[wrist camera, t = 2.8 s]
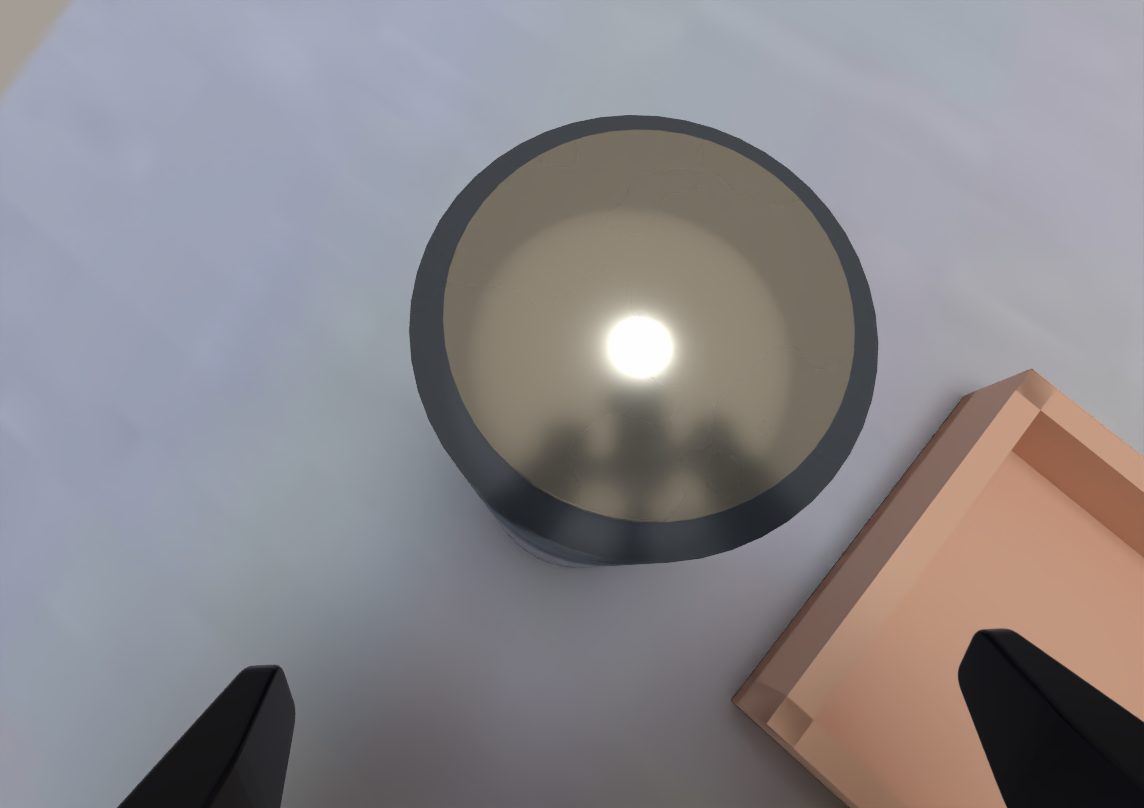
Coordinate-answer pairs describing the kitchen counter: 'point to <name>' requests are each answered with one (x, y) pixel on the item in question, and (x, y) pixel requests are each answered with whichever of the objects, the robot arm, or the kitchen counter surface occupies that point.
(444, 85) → the kitchen counter surface
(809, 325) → the dark grey cylinder
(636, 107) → the kitchen counter surface
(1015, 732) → the robot arm
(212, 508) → the kitchen counter surface
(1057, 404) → the terracotta bin
